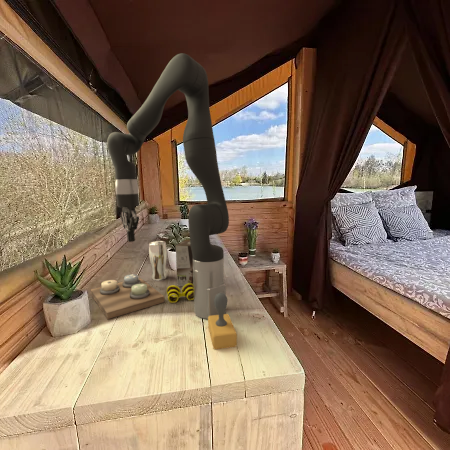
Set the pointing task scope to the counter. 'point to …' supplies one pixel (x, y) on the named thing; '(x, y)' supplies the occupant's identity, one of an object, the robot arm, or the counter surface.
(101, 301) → the button board
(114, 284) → the button
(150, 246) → the beer glass
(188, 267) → the coffee box
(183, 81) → the robot arm
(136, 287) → the button
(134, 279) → the button
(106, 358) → the counter surface
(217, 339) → the rubber stamp
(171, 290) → the opera glasses
